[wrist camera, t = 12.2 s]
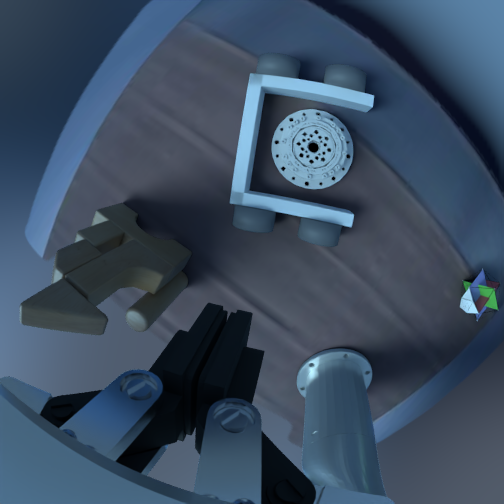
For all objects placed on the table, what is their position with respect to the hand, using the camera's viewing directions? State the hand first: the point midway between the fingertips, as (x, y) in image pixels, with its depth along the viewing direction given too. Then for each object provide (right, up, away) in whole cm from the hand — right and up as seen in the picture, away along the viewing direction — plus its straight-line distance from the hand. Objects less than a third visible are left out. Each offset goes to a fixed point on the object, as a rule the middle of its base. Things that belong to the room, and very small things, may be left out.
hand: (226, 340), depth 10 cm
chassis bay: (+8, +16, +22) cm, 29 cm away
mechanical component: (+9, +16, +23) cm, 29 cm away
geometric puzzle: (+35, -2, +23) cm, 42 cm away
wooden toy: (-14, +4, +30) cm, 34 cm away
